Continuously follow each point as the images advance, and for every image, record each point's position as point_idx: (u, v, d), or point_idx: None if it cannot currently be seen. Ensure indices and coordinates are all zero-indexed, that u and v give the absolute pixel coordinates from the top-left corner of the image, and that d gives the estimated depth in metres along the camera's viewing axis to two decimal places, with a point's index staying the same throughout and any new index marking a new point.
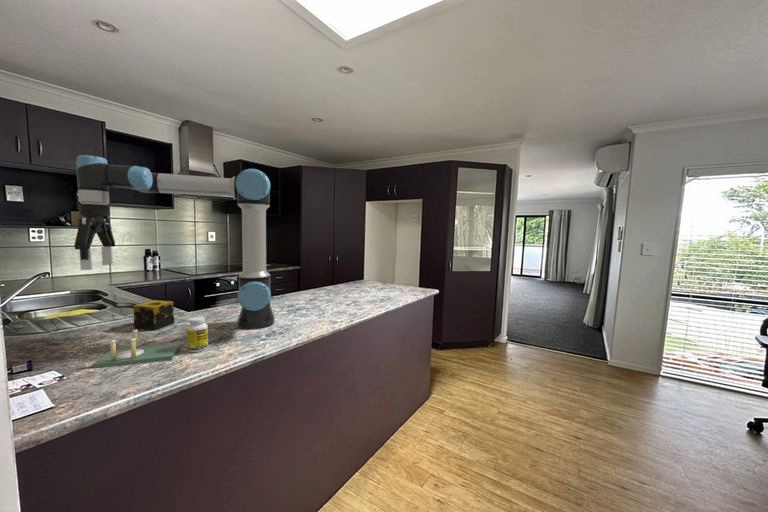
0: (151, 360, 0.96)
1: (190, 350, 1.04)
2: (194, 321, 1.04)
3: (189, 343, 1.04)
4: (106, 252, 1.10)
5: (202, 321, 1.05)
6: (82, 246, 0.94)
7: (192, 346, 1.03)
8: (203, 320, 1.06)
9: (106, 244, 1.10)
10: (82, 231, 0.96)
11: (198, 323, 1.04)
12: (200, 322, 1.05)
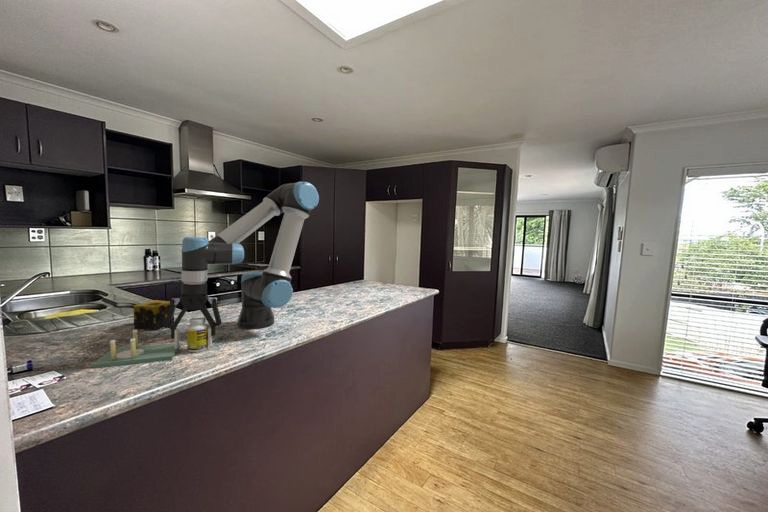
0: (151, 360, 0.96)
1: (190, 350, 1.04)
2: (194, 321, 1.04)
3: (189, 343, 1.04)
4: None
5: (202, 321, 1.05)
6: None
7: (192, 346, 1.03)
8: (203, 320, 1.06)
9: None
10: None
11: (198, 323, 1.04)
12: (200, 322, 1.05)
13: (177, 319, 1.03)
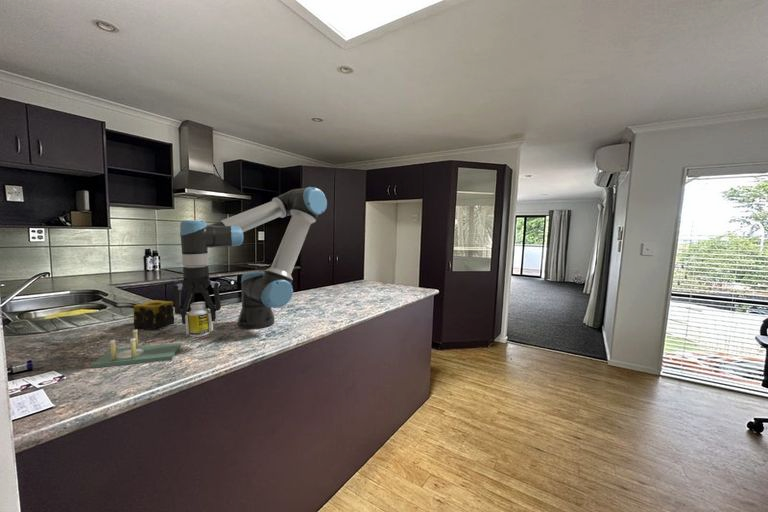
0: (151, 360, 0.96)
1: (192, 335, 1.04)
2: (195, 306, 1.04)
3: (191, 328, 1.04)
4: (209, 318, 1.07)
5: (203, 306, 1.05)
6: None
7: (195, 331, 1.04)
8: (204, 305, 1.06)
9: None
10: None
11: (199, 307, 1.04)
12: (201, 307, 1.04)
13: (185, 304, 1.03)
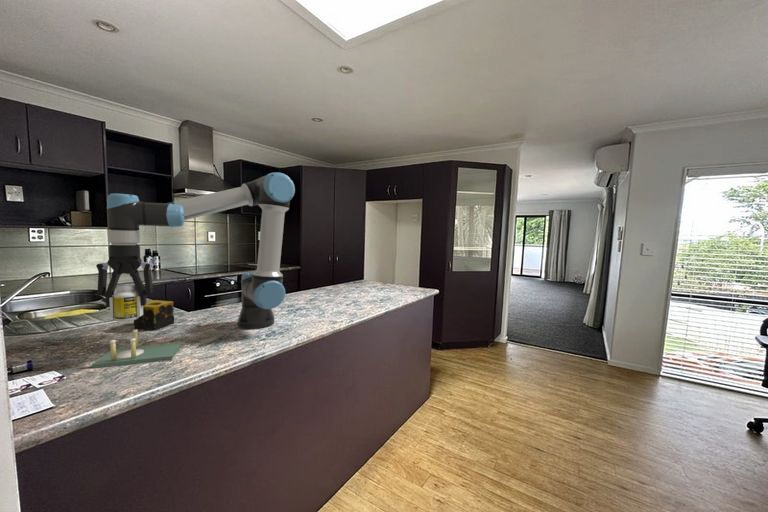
0: (151, 360, 0.96)
1: (117, 319, 0.95)
2: (121, 287, 0.95)
3: (115, 311, 0.95)
4: None
5: (131, 288, 0.96)
6: None
7: (119, 315, 0.95)
8: (132, 287, 0.97)
9: None
10: None
11: (126, 289, 0.95)
12: (128, 289, 0.96)
13: (110, 285, 0.95)
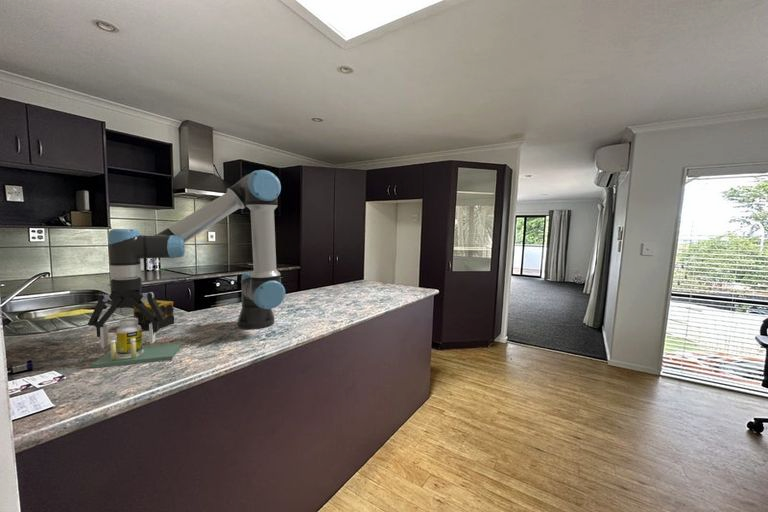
0: (151, 360, 0.96)
1: (119, 354, 0.96)
2: (124, 323, 0.96)
3: (118, 346, 0.96)
4: None
5: (134, 323, 0.98)
6: None
7: (122, 350, 0.96)
8: (135, 322, 0.98)
9: None
10: None
11: (129, 324, 0.96)
12: (131, 324, 0.97)
13: (104, 316, 0.95)
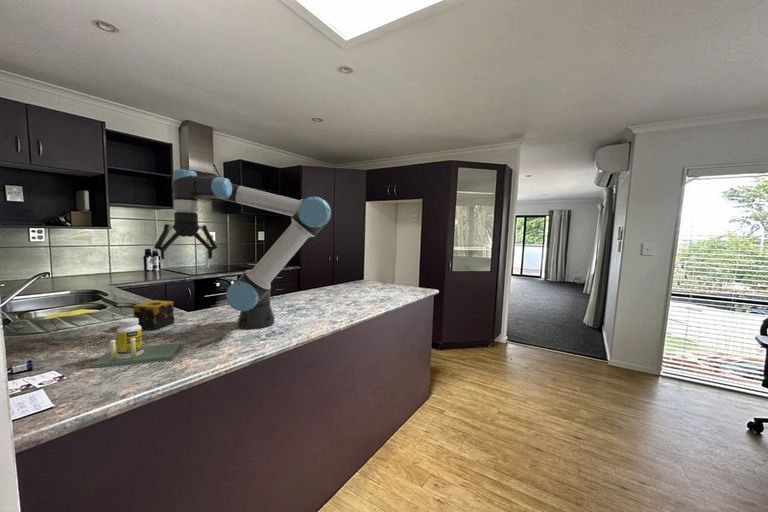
0: (151, 360, 0.96)
1: (119, 354, 0.96)
2: (124, 322, 0.96)
3: (118, 346, 0.96)
4: (206, 255, 1.20)
5: (134, 322, 0.98)
6: None
7: (122, 349, 0.96)
8: (135, 321, 0.98)
9: None
10: None
11: (129, 324, 0.97)
12: (131, 323, 0.97)
13: (168, 242, 1.14)
